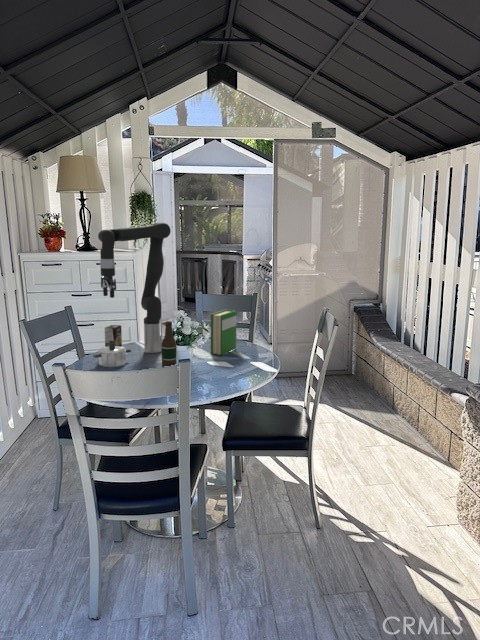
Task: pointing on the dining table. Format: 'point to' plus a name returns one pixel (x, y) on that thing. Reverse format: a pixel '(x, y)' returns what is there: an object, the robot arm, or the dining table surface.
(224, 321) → the hardback book
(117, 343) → the coffee box
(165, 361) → the beer bottle
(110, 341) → the lid
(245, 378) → the dining table surface
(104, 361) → the pot
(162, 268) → the robot arm
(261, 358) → the dining table surface
